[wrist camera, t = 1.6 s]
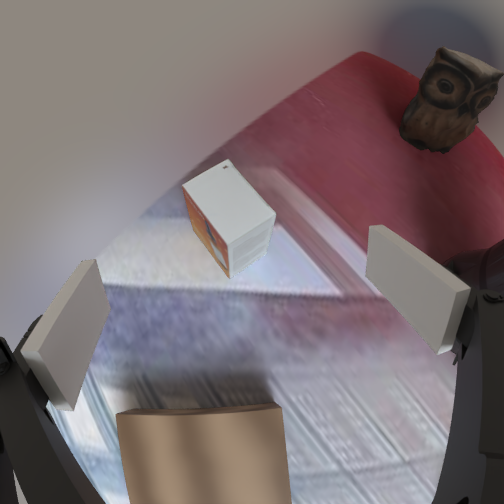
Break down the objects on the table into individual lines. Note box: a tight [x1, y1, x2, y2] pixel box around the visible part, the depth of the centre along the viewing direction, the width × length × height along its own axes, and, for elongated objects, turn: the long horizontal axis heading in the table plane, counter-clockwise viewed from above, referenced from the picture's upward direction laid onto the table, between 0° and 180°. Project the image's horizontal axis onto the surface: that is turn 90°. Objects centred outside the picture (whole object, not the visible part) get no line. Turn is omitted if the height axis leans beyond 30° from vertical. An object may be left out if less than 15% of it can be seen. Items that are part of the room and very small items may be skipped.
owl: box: [399, 46, 504, 154], centre depth 38 cm, size 13×13×20 cm
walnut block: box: [116, 402, 292, 504], centre depth 26 cm, size 16×14×6 cm
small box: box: [182, 159, 276, 279], centre depth 34 cm, size 8×6×10 cm
